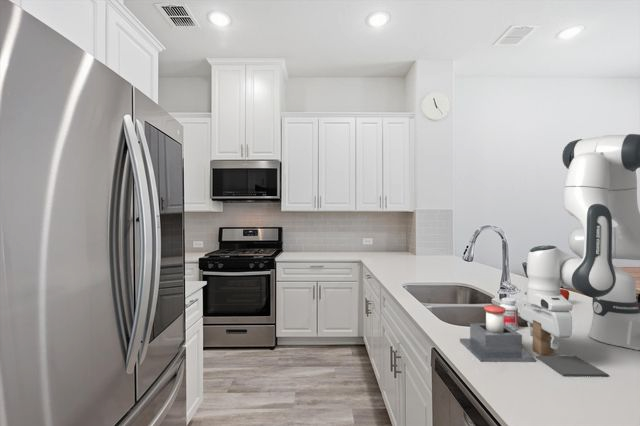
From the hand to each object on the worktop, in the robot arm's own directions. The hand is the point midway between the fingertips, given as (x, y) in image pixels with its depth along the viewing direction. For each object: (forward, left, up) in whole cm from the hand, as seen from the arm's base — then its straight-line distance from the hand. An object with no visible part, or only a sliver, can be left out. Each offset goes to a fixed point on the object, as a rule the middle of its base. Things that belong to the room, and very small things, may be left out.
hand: (543, 342), depth 108 cm
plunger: (+14, -2, +1) cm, 14 cm away
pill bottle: (-2, -24, -4) cm, 24 cm away
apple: (-45, -58, -4) cm, 74 cm away
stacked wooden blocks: (0, 0, -4) cm, 4 cm away
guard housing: (+14, -2, -4) cm, 15 cm away
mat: (-2, +9, -4) cm, 10 cm away
